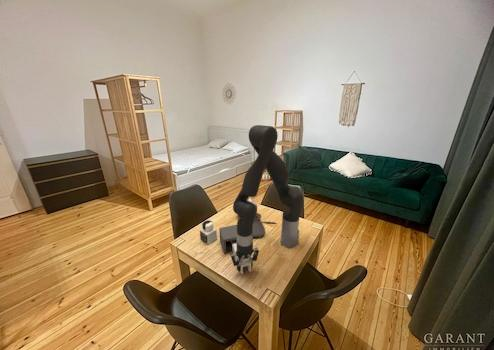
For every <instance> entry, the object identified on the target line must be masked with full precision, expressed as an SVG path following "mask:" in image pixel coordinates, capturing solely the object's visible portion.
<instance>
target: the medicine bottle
mask: <svg viewBox="0 0 494 350" xmlns="http://www.w3.org/2000/svg"><path fill="white" fill-rule="evenodd" d="M201 225H202V228H201V229H199V236H200V237H199V239H200V241H202V242H203V243H205V245H210V244H211V243H213V242H214V241H216V240H218V235H217V233H218V232H217V229H216V228H215V227H214V223H213V220H209V219H208V220H205V221H203V222H202V224H201Z"/></svg>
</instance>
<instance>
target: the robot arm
mask: <svg viewBox="0 0 494 350" xmlns="http://www.w3.org/2000/svg"><path fill="white" fill-rule="evenodd" d="M278 137H279V136H278V131H277V129H276V127H274V126H271V125H260V124H258V125H257V124H256V125H253V126H251V128H250V129H249V131H248V139H249V142H250V143H249V144H250V145H251V147H253V149H254V151H255V152H256V154H257V157H256V159H255V161H253V163H252V164H251V166H250V167H249V168H248V169H247V171H246V172H245V175H244V178H243V182H242V185H241V186H242V187H241V189H240V191H239V193H238V194H237V196H236V198H235V200H234V202H233V205H232V210H233V212H234V214H236V215H237V214H238V215H240V216H241V217H243V218H239V219H238V220H237V221H236V225H237V236H236V243H237V251H236V253H234V254H233V252H232V253H230V255H229V256H230V259H231V261H232V264H233V267H236V270H237V271H238V272H239V273H241V272H240V271H241V266H240V264H241V263H242V261H243V260H244V259H248V258H249V260H250V262H251V269H252V268H253V266H254V264H253V263H254V262H256V261H257V259H258V257H259V253H260V250H259V249H258V247H255V248H254V237H253V222H254V219H255V216H256V213H258V208H257V209H256V206H255V205H254V204H253V203H251V202H248V201H247V199H248V198H255V197H257V195H258V193H259V189H260V185H261V182H262V177H263V175H264V172H265V170H266V171H267V173H268V176H269V178H270V180H271V181H272V183H273V185H274V187H275V188H276V191H277V193H278V197H279V200H280V202H281V204H283V205H285V206H286V207H288V209H285V210H284V211H282V217H281V231H280V232H281V233H280V245H282V246H283V247H284V248H287V249H292V248H293V249H294V248H295V247H296V246H297V245H299V238H300V229H299V226H300V225H299V224H300V217H301V214H302V209H303V205H304V204H303V203H304V196H303V194H302V193H300V192H298V191H296V190H293V189H291V187H290V186H289V183H288V182H289V179H290V172H289V169H288V166H287V164H286V162H285V161H284V160H283V159H282V158H281V156H280V155H278V154H277V152H275V151H274V150H275V147H276V144H277V142H278ZM238 215H237V216H238ZM236 256H238V257H237V261H236V259H235V258H236Z"/></svg>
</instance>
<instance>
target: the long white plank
mask: <svg viewBox="0 0 494 350" xmlns="http://www.w3.org/2000/svg"><path fill="white" fill-rule="evenodd" d="M231 247H232V254H234V253H236V251H237V242H235V244H231ZM237 257H238V256H236V258H235V261H237ZM240 266H241V271H240V272H239V273H240V275H242V274H244V272H243V271H244V268H245V267H247V269H248V272H250V273H251V272H252V268H251V262H250V260H249V258H248V259H244V260H243V261H242V263H241V264H240Z"/></svg>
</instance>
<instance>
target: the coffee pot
mask: <svg viewBox="0 0 494 350" xmlns="http://www.w3.org/2000/svg"><path fill="white" fill-rule="evenodd" d="M264 224H267V225H274V227H277V222H274V221H262V215H261V213H258V212H257V213H256V216H255V219H254V222H253V238H260V237H261V236H263V235H264V233H265V232H266V228H265V226H264Z"/></svg>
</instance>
